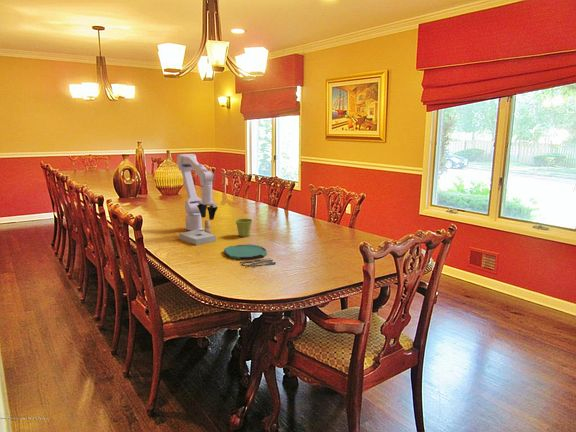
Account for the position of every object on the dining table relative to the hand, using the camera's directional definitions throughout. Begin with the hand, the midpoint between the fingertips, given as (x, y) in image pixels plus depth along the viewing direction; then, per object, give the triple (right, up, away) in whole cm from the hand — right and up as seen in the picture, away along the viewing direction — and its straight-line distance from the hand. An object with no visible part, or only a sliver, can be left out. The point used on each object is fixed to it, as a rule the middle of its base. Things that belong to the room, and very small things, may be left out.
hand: (207, 218), depth 232 cm
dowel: (0, -9, +2) cm, 9 cm away
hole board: (-4, -11, -8) cm, 15 cm away
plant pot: (+20, -10, +2) cm, 22 cm away
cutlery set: (+26, -18, -35) cm, 47 cm away
